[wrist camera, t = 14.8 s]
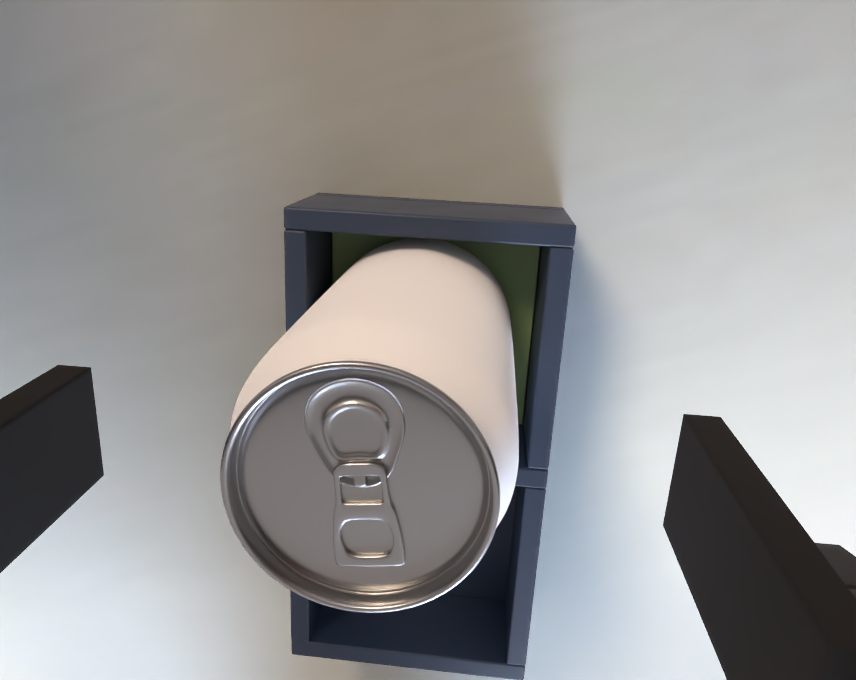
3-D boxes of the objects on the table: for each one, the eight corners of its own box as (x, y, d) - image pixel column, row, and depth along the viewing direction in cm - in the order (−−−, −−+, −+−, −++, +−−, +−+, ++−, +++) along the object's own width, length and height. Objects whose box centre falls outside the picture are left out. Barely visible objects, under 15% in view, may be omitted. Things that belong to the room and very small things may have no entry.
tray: (317, 192, 24) (282, 206, 21) (564, 207, 24) (576, 224, 20) (318, 585, 30) (291, 654, 26) (520, 606, 29) (523, 681, 25)
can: (507, 228, 23) (516, 331, 12) (514, 402, 25) (528, 631, 14) (324, 240, 24) (170, 347, 13) (344, 408, 26) (227, 630, 15)
